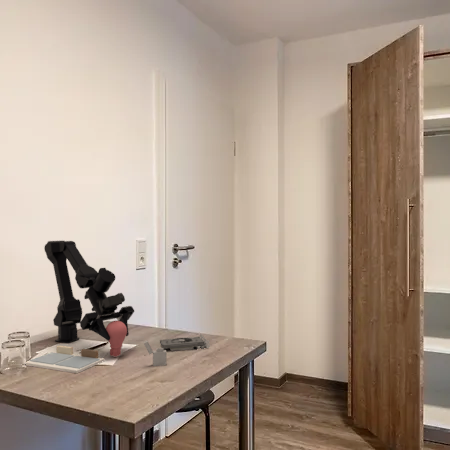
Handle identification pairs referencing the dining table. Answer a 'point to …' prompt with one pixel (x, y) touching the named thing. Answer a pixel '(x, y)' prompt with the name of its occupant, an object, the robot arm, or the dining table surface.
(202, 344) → the graphics card
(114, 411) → the dining table surface
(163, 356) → the lighter
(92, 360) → the board
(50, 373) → the dining table surface
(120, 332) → the light bulb
